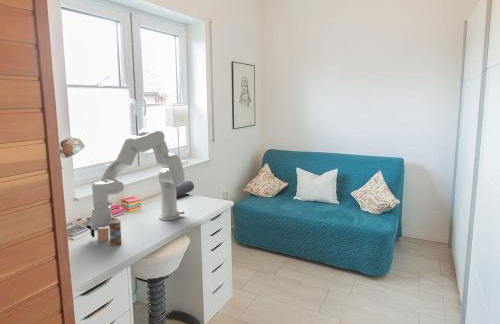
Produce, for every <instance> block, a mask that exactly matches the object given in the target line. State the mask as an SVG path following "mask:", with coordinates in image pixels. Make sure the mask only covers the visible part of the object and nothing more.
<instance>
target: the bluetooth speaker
mask: <svg viewBox="0 0 500 324" xmlns="http://www.w3.org/2000/svg"><path fill="white" fill-rule="evenodd" d="M175 187H176V198H179V197H183V196H185V195H186V194H188V193H190V192H192V191H194V188H195V185H194V183H193V181H191V180H186V181H185V180H184V182H183V184H181V185H179V186H175Z"/></svg>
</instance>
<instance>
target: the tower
mask: <svg viewBox="0 0 500 324" xmlns="http://www.w3.org/2000/svg"><path fill="white" fill-rule="evenodd" d="M108 228H109V242H110V247H114V246H115V247H116V246H121V245H122V242H123V241H122V240H123V239H122V226H121V219H119V220H110V222H109V226H108Z"/></svg>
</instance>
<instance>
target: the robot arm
mask: <svg viewBox="0 0 500 324" xmlns="http://www.w3.org/2000/svg"><path fill="white" fill-rule="evenodd" d="M150 150H152V151H153V154H154V157H155V161H156V165H157V166H158V167H159V168H162V169H161V170H160V171H159V172H158V181H159V186H160V202H161V203H160V204H161V205H160V206H161V207H160V208H161V214H159V217H158V219H160V220H162V221H173V220H178V219H179V218H180V216H181V215H185V210H182V209H181V210H178V205H177V200H178V199H177V198H178V197H176V187H175V186H179V185H181V184H183V182H185V172H184V168H183V163H182V160H181V158H180V156H179V155H178V154H176V153H172V152H170V151H169V148H168V145H167V143H166V141H165V134H164V132H163V131H162V130H160V129H154V128H142V129H140V130H139V132H138V135H130V136H127V137H126V139H125V140H124V142H123V144H122V147H121V149H120V150H119V154H118V156H117V157H116V159H115V161H113V162H112V163H111V164H110V165H109V166H108V167H107V168H106V169H105V171H104V173H103V175H102V177H101V179H100V181H95V182H93V183H92V184H91V187H92V188H91V189H92V204H93V205H92V206H93V207H92V210H91V218H90V219H88V220H86V221H84V225H85V227H86V228H87V229H88V230H89V231H90V236H91V237H92V238H95V236H96V235H95V228H98V227H109V222H110V220H120V219H119V218H117V217H115V216H114V217H113V212H112V208H111V206H112V204H113V203H112V202H110V200H109V195H119V194H121V193H122V192H123V191H124V189H125V186H124V183H123V182H122V181H121V180H118V179H116V178H117V176H118V175H119V174H120V173H121V172H122V171H124V170H126V169H128V168H130V167H131V166H132V165H133V163H134V161H135V158H136V156H137V154H138V152H139V153H144V152H147V151H150ZM90 223H91V225H90Z"/></svg>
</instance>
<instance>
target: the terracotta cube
mask: <svg viewBox="0 0 500 324" xmlns="http://www.w3.org/2000/svg"><path fill="white" fill-rule="evenodd" d="M96 231H97V233H96V234H97V242H107V241H109V240H110V230H109V226H102V227H97V230H96Z"/></svg>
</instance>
